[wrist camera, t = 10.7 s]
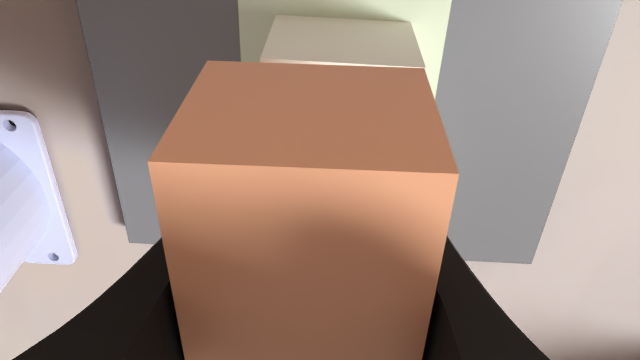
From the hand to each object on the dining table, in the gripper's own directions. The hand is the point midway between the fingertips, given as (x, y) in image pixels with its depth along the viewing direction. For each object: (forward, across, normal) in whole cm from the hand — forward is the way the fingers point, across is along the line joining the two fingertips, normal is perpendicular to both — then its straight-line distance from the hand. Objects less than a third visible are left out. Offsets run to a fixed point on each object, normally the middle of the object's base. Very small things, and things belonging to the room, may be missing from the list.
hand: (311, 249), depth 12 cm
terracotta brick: (+1, 0, 0) cm, 1 cm away
